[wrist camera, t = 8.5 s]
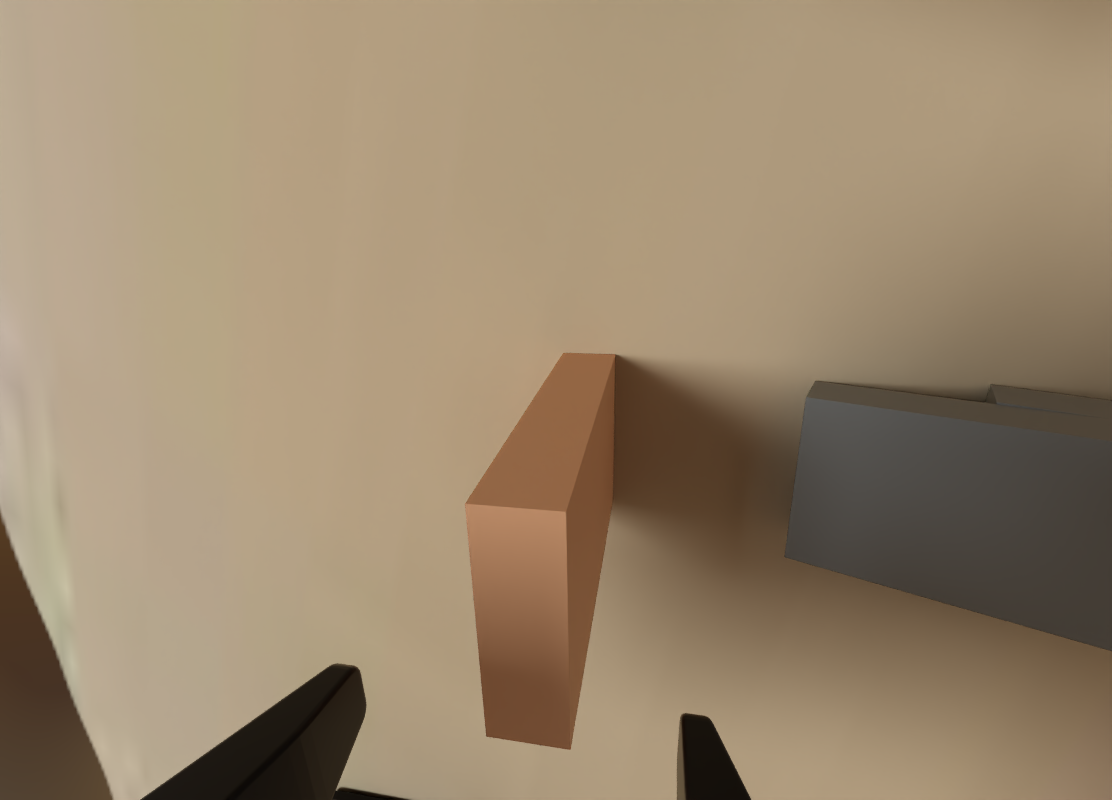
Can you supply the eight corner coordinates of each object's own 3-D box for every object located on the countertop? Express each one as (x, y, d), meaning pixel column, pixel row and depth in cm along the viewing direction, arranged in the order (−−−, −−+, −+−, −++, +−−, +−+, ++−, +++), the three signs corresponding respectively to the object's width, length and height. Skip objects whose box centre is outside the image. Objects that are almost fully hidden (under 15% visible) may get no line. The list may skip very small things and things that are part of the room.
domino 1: (566, 495, 19) (486, 736, 10) (563, 352, 17) (464, 503, 9) (612, 499, 18) (570, 749, 10) (615, 354, 17) (565, 511, 8)
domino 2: (784, 556, 16) (1235, 686, 12) (806, 397, 14) (1344, 474, 10) (794, 530, 17) (1204, 637, 13) (815, 380, 16) (1296, 442, 11)
